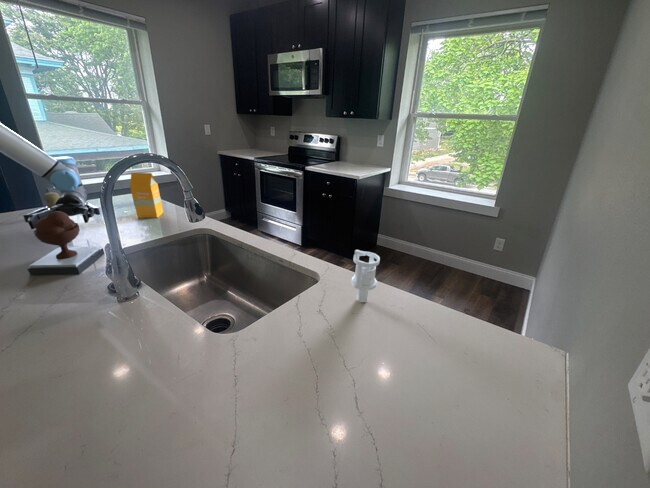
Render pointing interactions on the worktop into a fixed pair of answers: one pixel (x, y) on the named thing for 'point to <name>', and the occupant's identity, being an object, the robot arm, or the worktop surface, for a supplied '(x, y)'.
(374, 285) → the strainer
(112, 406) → the worktop surface
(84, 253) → the scale
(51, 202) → the cork
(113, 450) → the worktop surface
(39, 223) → the ice cream bowl
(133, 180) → the orange juice
